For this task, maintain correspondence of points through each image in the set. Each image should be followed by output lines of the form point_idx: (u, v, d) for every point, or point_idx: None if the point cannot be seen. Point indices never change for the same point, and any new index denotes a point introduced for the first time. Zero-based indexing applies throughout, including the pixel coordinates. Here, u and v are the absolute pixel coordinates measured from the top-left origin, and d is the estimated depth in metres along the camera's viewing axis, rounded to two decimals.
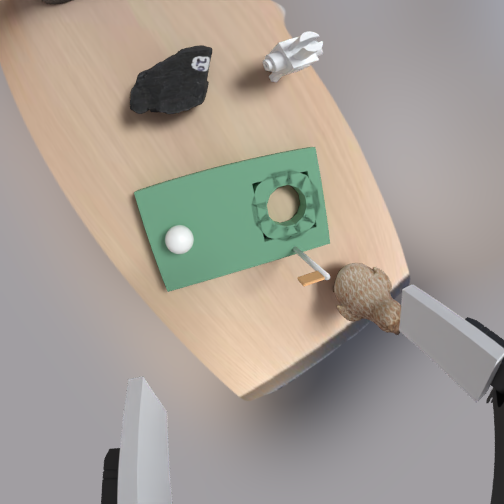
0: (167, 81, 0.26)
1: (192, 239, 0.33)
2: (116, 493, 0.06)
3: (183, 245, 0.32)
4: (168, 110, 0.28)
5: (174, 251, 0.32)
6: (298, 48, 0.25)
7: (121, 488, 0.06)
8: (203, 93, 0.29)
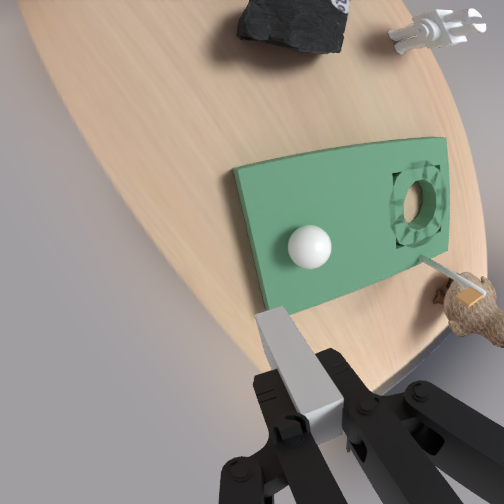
0: (304, 7, 0.14)
1: None
2: (280, 410, 0.09)
3: (323, 256, 0.21)
4: (301, 46, 0.16)
5: (307, 265, 0.21)
6: (451, 22, 0.13)
7: (297, 395, 0.09)
8: (342, 39, 0.17)
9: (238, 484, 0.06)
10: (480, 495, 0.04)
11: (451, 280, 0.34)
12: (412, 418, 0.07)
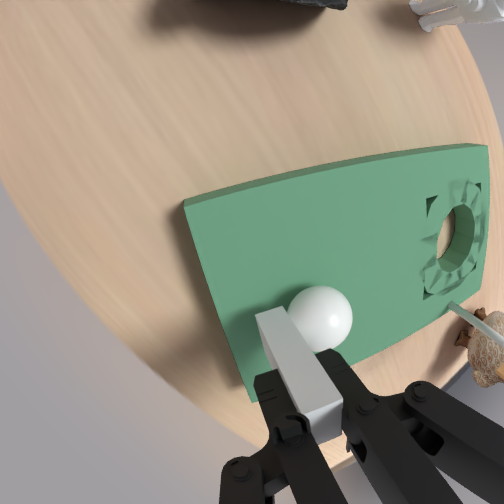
0: None
1: None
2: (281, 410, 0.09)
3: None
4: None
5: None
6: None
7: (297, 395, 0.09)
8: None
9: (238, 484, 0.06)
10: (480, 495, 0.04)
11: (476, 317, 0.26)
12: (411, 418, 0.07)
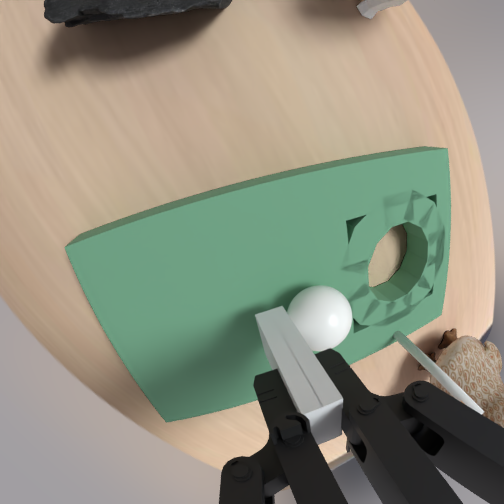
0: None
1: None
2: (281, 410, 0.09)
3: None
4: (128, 9, 0.07)
5: None
6: None
7: (297, 395, 0.09)
8: None
9: (239, 484, 0.06)
10: (480, 495, 0.04)
11: (445, 339, 0.25)
12: (412, 418, 0.07)
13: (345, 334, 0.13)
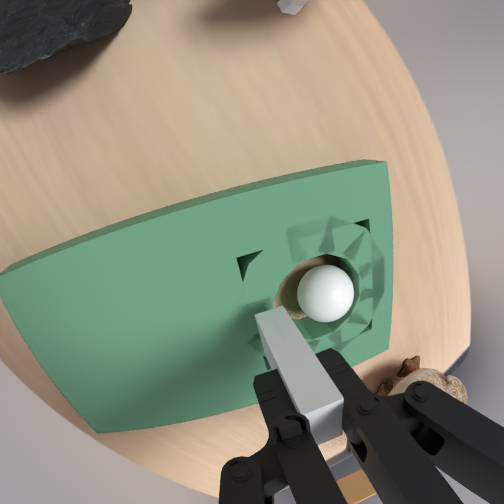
0: (19, 0, 0.04)
1: None
2: (280, 410, 0.09)
3: None
4: (7, 65, 0.06)
5: None
6: None
7: (296, 395, 0.09)
8: (95, 16, 0.07)
9: (238, 484, 0.06)
10: (480, 495, 0.04)
11: (405, 368, 0.24)
12: (412, 418, 0.07)
13: (304, 311, 0.16)
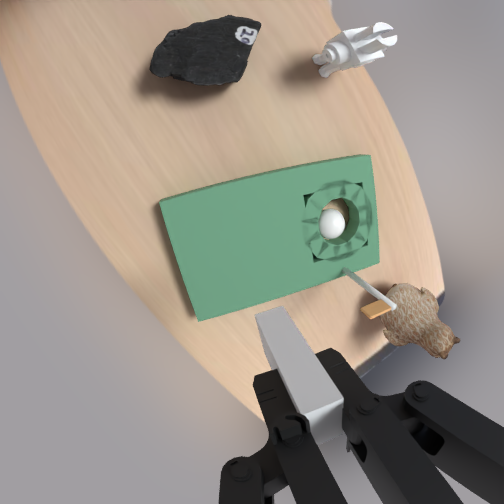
0: (203, 45, 0.20)
1: None
2: (281, 410, 0.09)
3: None
4: (196, 80, 0.21)
5: (340, 233, 0.31)
6: (364, 40, 0.19)
7: (297, 395, 0.09)
8: (242, 70, 0.23)
9: (238, 484, 0.06)
10: (480, 495, 0.04)
11: None
12: (412, 418, 0.07)
13: None
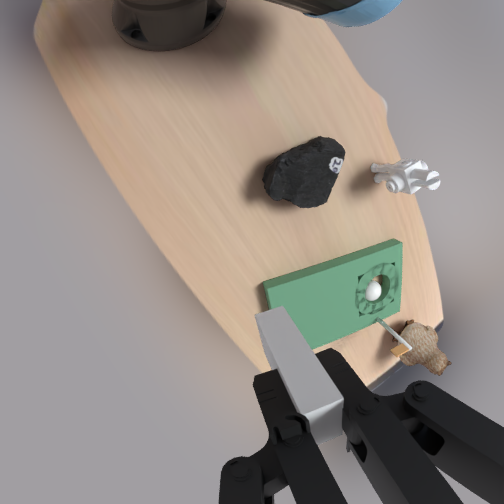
0: (308, 177, 0.32)
1: None
2: (280, 410, 0.09)
3: None
4: (300, 204, 0.34)
5: (378, 297, 0.43)
6: None
7: (297, 395, 0.09)
8: (329, 193, 0.35)
9: (238, 484, 0.06)
10: (480, 495, 0.04)
11: (407, 325, 0.52)
12: (412, 418, 0.07)
13: None
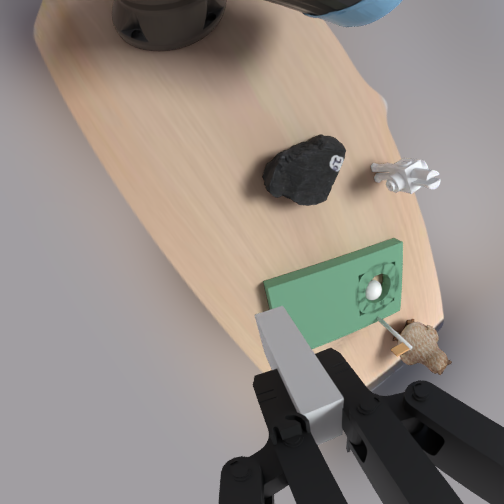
0: (309, 174, 0.32)
1: None
2: (281, 410, 0.09)
3: None
4: (300, 201, 0.34)
5: (378, 296, 0.43)
6: None
7: (297, 395, 0.09)
8: (329, 191, 0.35)
9: (238, 484, 0.06)
10: (480, 495, 0.04)
11: (407, 324, 0.52)
12: (412, 418, 0.07)
13: None
